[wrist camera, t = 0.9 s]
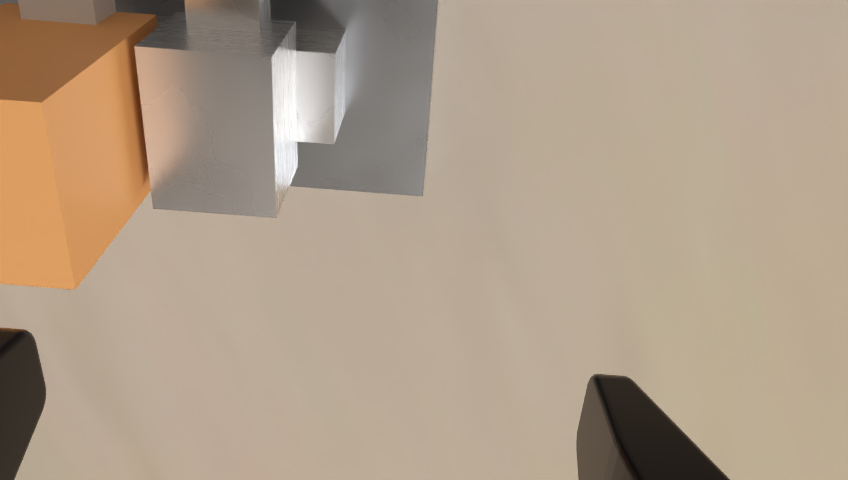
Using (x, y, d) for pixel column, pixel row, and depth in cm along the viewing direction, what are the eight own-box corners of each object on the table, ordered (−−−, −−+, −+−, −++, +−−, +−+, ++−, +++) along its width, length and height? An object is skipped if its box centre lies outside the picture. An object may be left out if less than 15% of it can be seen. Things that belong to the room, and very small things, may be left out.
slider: (195, 131, 19) (75, 289, 13) (68, 121, 19) (-109, 275, 13) (167, -210, 15) (-15, -206, 9) (12, -222, 15) (-268, -227, 9)
